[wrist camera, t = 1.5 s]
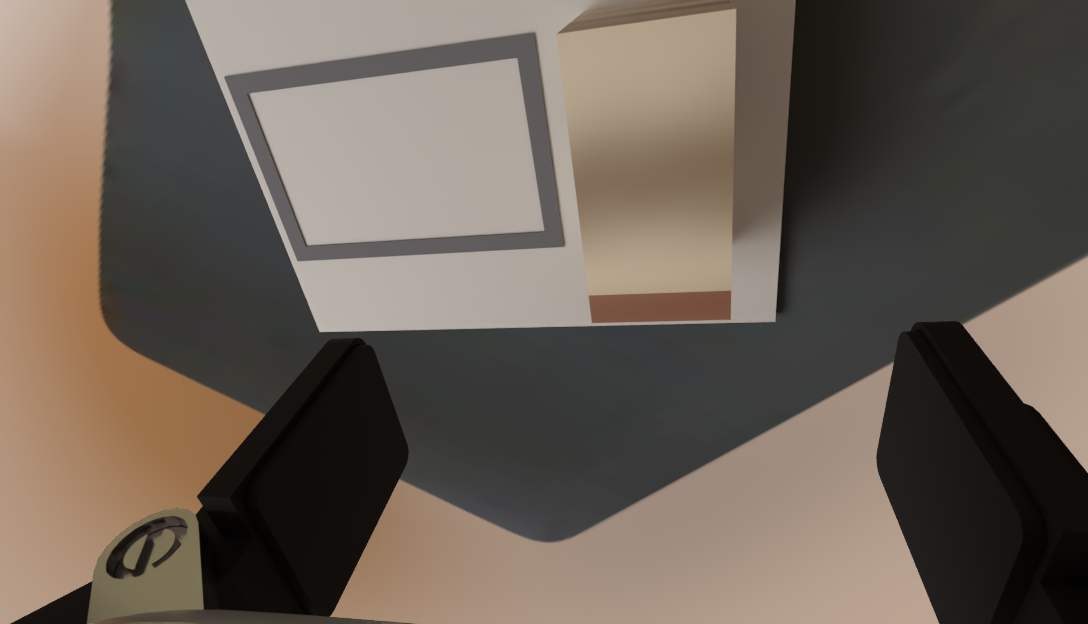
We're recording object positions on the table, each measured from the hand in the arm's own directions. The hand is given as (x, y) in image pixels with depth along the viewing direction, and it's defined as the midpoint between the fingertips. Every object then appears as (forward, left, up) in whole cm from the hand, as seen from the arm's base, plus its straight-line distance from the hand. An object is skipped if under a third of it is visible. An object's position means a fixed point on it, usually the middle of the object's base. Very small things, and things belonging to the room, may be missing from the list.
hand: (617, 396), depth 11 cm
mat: (+7, 0, -17) cm, 18 cm away
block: (0, 0, -16) cm, 16 cm away
